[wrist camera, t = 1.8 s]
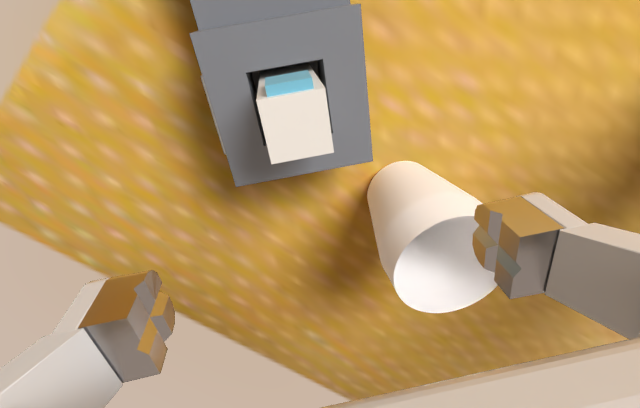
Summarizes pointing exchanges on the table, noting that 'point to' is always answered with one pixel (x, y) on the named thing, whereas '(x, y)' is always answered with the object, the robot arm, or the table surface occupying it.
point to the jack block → (276, 52)
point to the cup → (427, 238)
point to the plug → (294, 113)
